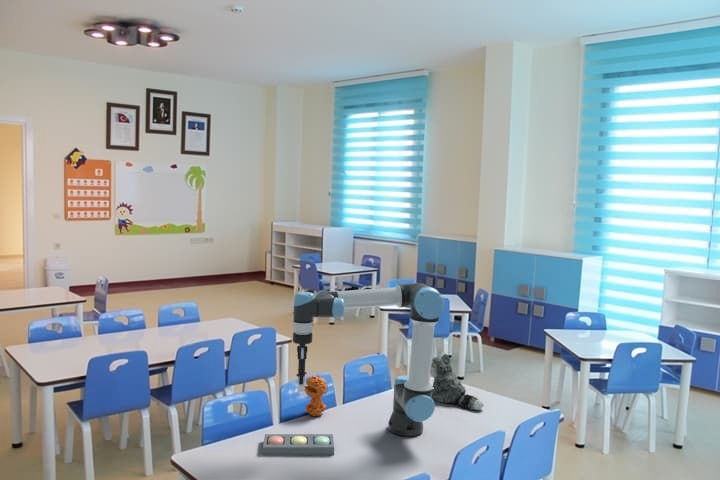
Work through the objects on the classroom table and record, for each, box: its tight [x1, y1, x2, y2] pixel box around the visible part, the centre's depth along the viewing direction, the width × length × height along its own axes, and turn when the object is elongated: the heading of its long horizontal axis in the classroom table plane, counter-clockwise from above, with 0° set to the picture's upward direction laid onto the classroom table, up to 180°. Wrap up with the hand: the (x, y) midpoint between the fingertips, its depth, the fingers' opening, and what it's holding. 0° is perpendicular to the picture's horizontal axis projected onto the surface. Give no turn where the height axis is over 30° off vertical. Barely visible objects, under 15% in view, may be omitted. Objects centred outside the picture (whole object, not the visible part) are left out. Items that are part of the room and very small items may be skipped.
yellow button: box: [291, 436, 307, 444], centre depth 230 cm, size 6×6×3 cm
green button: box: [314, 436, 330, 444], centre depth 231 cm, size 6×6×3 cm
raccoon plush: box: [430, 353, 485, 411], centre depth 291 cm, size 15×32×21 cm, turn 59°
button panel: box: [262, 433, 335, 456], centre depth 230 cm, size 12×27×3 cm, turn 96°
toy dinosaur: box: [304, 374, 329, 417], centre depth 265 cm, size 11×11×18 cm
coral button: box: [268, 436, 284, 444], centre depth 229 cm, size 6×6×3 cm
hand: (300, 391), depth 229 cm, fingers closed
